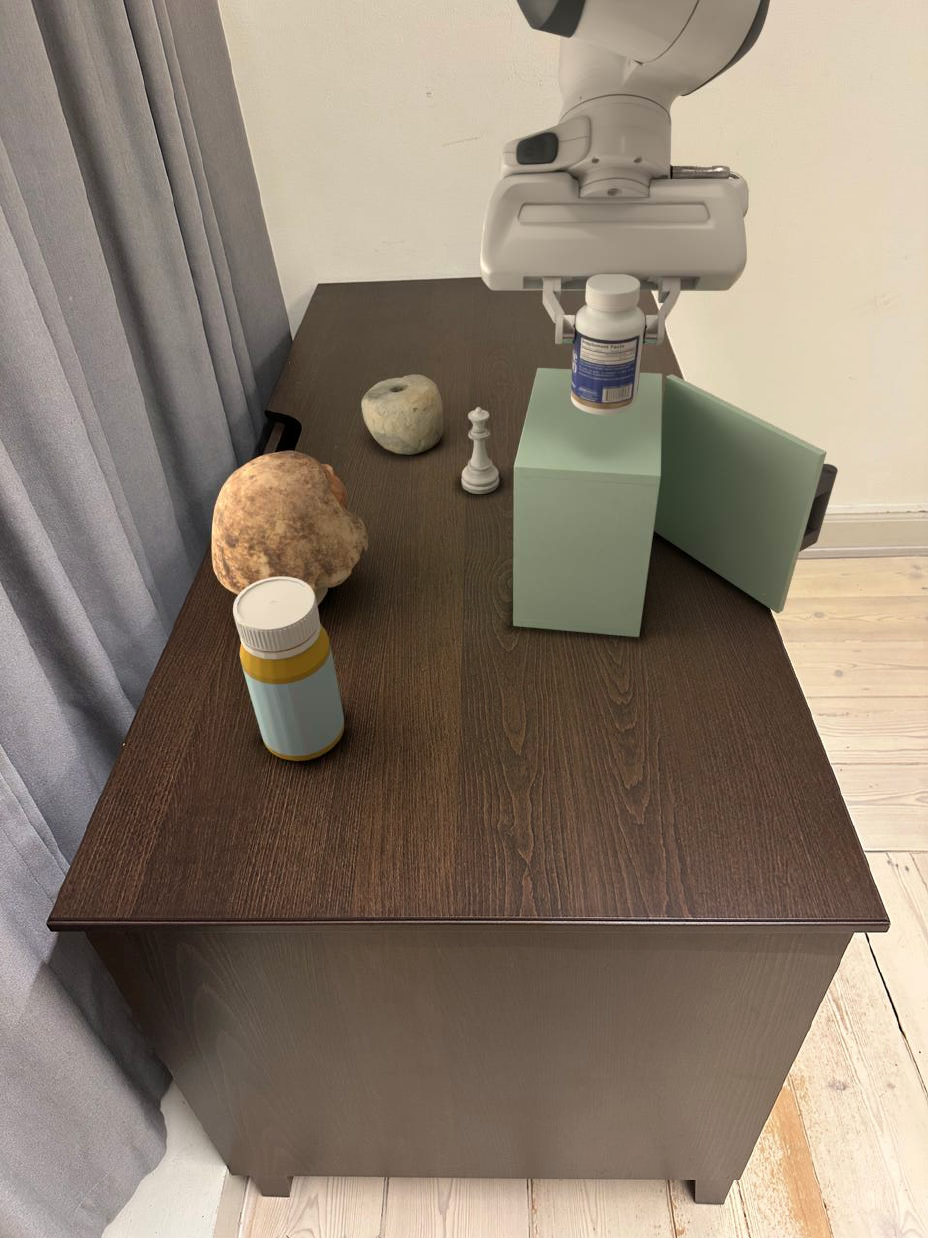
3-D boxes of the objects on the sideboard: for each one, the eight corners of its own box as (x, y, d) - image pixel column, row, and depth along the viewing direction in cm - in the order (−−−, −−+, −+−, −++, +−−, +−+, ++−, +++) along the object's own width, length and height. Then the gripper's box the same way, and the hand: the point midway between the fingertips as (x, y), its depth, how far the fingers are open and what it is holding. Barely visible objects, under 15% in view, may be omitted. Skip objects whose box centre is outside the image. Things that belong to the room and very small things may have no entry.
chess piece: (455, 489, 103) (451, 412, 97) (472, 470, 106) (469, 394, 100) (488, 498, 102) (487, 420, 95) (505, 479, 105) (505, 402, 98)
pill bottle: (584, 380, 75) (592, 264, 68) (645, 393, 73) (659, 274, 67) (559, 409, 71) (565, 289, 65) (623, 423, 70) (635, 301, 63)
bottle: (355, 750, 75) (331, 618, 65) (273, 776, 73) (236, 644, 63) (333, 694, 80) (308, 563, 70) (256, 717, 78) (219, 586, 68)
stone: (466, 393, 112) (435, 365, 103) (442, 471, 113) (410, 450, 104) (398, 378, 116) (363, 351, 107) (375, 454, 116) (338, 433, 107)
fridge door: (690, 505, 99) (715, 356, 87) (823, 587, 88) (871, 429, 76) (646, 526, 97) (666, 376, 85) (777, 614, 85) (820, 454, 73)
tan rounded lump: (406, 575, 92) (394, 449, 82) (307, 667, 82) (279, 537, 72) (296, 531, 98) (272, 409, 88) (192, 612, 89) (152, 485, 79)
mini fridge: (643, 525, 97) (662, 373, 85) (639, 637, 84) (660, 475, 72) (534, 518, 99) (537, 367, 87) (513, 626, 86) (513, 466, 74)
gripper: (739, 188, 71) (736, 357, 71) (485, 189, 73) (480, 355, 72) (759, 141, 65) (756, 327, 64) (481, 144, 66) (475, 325, 66)
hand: (608, 342), depth 68 cm, fingers closed on pill bottle, 5 cm apart
